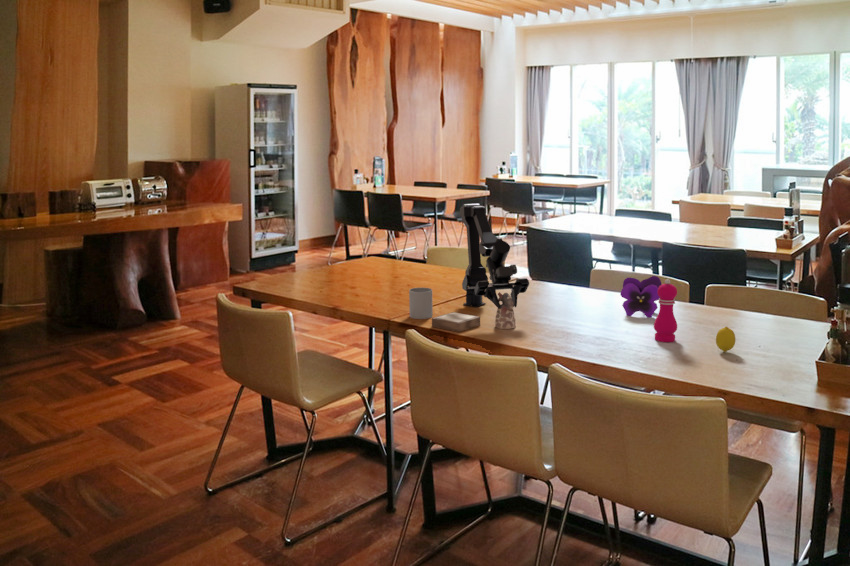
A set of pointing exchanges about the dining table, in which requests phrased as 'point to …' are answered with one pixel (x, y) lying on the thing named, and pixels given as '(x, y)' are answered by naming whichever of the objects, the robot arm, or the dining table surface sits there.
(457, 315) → the plinth
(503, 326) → the figurine
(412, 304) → the cup
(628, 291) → the flower
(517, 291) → the robot arm
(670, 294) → the pepper mill
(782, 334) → the dining table surface
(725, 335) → the lemon
